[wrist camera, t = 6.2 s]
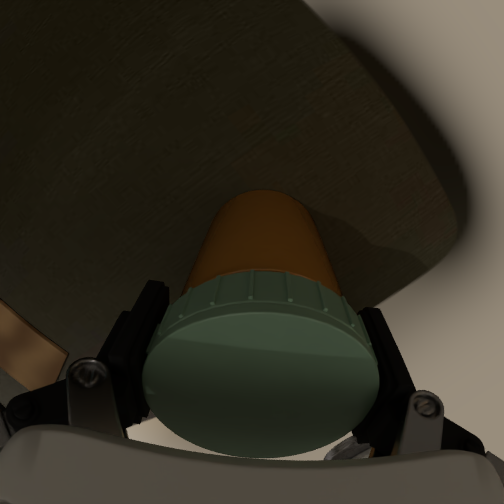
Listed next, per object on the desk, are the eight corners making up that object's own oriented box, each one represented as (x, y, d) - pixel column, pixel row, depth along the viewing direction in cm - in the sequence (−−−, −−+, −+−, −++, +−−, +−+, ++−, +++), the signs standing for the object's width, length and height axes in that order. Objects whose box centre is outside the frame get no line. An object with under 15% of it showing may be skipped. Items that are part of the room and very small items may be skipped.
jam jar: (338, 248, 19) (397, 385, 9) (257, 306, 21) (251, 452, 11) (269, 165, 17) (276, 251, 7) (186, 237, 19) (118, 368, 9)
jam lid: (176, 235, 8) (154, 270, 6) (405, 304, 9) (428, 344, 7) (146, 393, 11) (134, 431, 9) (311, 430, 12) (315, 467, 10)
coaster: (68, 353, 24) (66, 356, 24) (48, 400, 28) (47, 402, 28) (-24, 275, 21) (-27, 277, 21) (-27, 340, 25) (-28, 342, 25)
